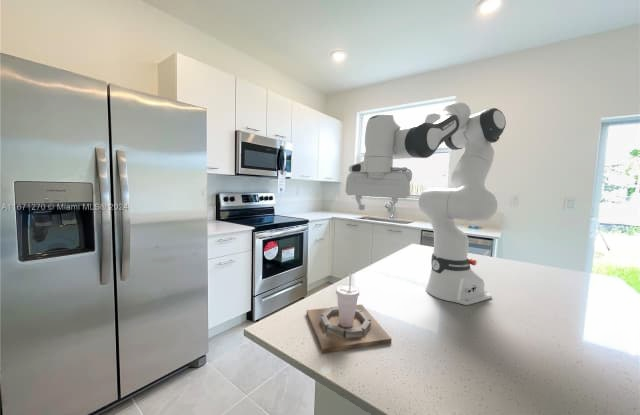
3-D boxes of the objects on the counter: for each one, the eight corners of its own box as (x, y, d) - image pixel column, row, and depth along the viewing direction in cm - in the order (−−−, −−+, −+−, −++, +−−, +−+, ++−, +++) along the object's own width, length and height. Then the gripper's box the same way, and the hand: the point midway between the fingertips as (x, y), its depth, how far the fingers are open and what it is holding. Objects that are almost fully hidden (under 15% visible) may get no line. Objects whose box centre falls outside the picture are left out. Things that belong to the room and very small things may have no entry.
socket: (361, 308, 81) (362, 300, 81) (391, 343, 64) (391, 332, 64) (306, 313, 76) (306, 305, 76) (322, 353, 59) (322, 342, 59)
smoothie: (357, 331, 66) (359, 279, 65) (333, 328, 67) (334, 277, 66) (358, 319, 72) (360, 271, 71) (336, 316, 73) (338, 269, 72)
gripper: (414, 168, 77) (411, 213, 78) (352, 167, 87) (350, 207, 89) (410, 166, 71) (407, 215, 73) (344, 166, 82) (342, 209, 83)
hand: (375, 211), depth 81 cm, fingers open, 8 cm apart
